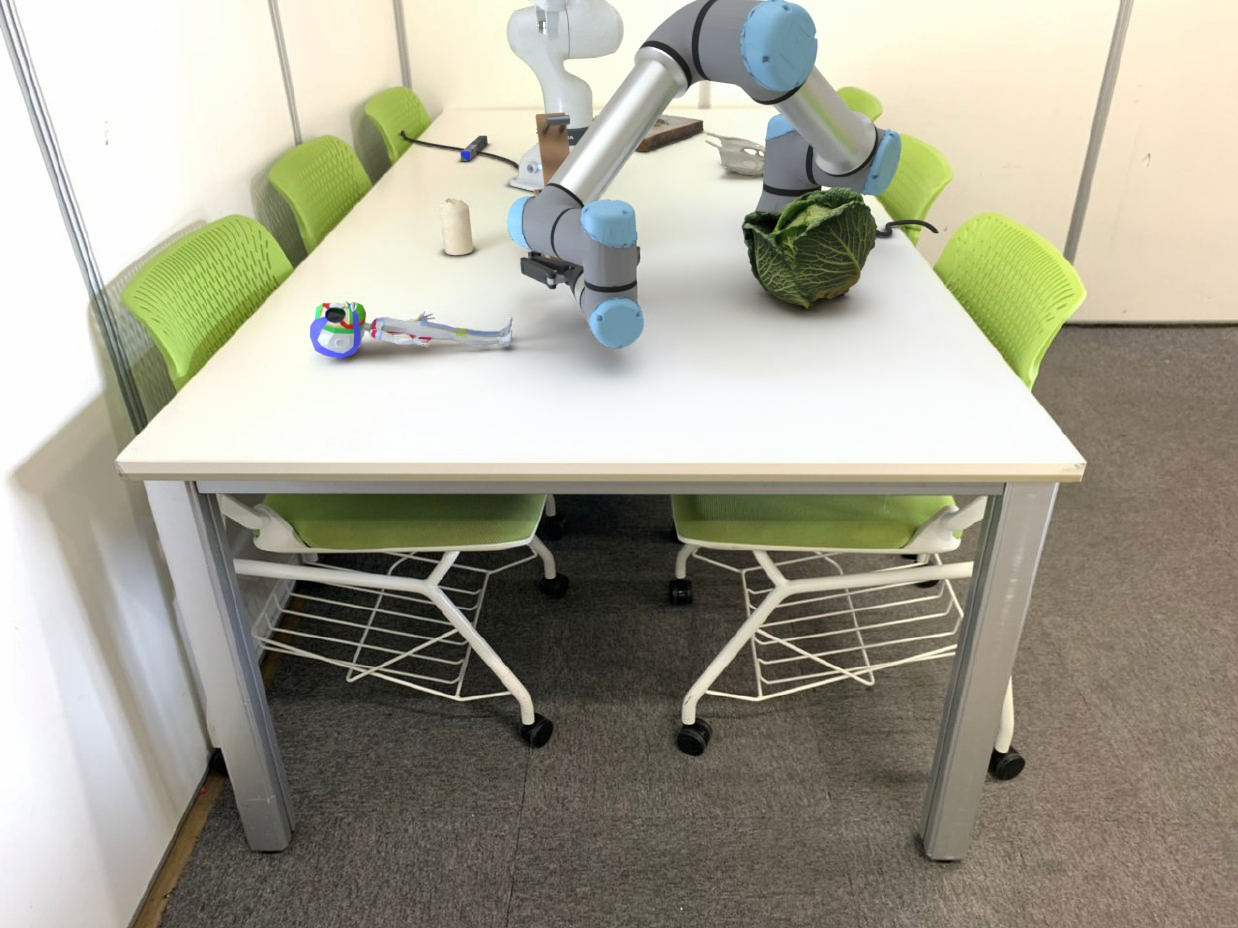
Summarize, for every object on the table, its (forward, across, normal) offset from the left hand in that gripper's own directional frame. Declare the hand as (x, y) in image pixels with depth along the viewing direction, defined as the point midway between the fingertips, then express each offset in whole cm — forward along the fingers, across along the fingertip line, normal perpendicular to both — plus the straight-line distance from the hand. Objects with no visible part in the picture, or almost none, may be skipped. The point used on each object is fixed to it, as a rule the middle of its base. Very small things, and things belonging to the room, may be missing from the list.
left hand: (547, 36), depth 153 cm
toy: (+38, -37, +29) cm, 60 cm away
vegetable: (+39, -33, -37) cm, 63 cm away
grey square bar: (+38, +88, +8) cm, 97 cm away
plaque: (+38, +96, -39) cm, 110 cm away
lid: (+20, -2, 0) cm, 21 cm away
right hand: (+31, -16, 0) cm, 35 cm away
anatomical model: (+38, +47, -58) cm, 84 cm away
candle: (+38, +8, +19) cm, 43 cm away
